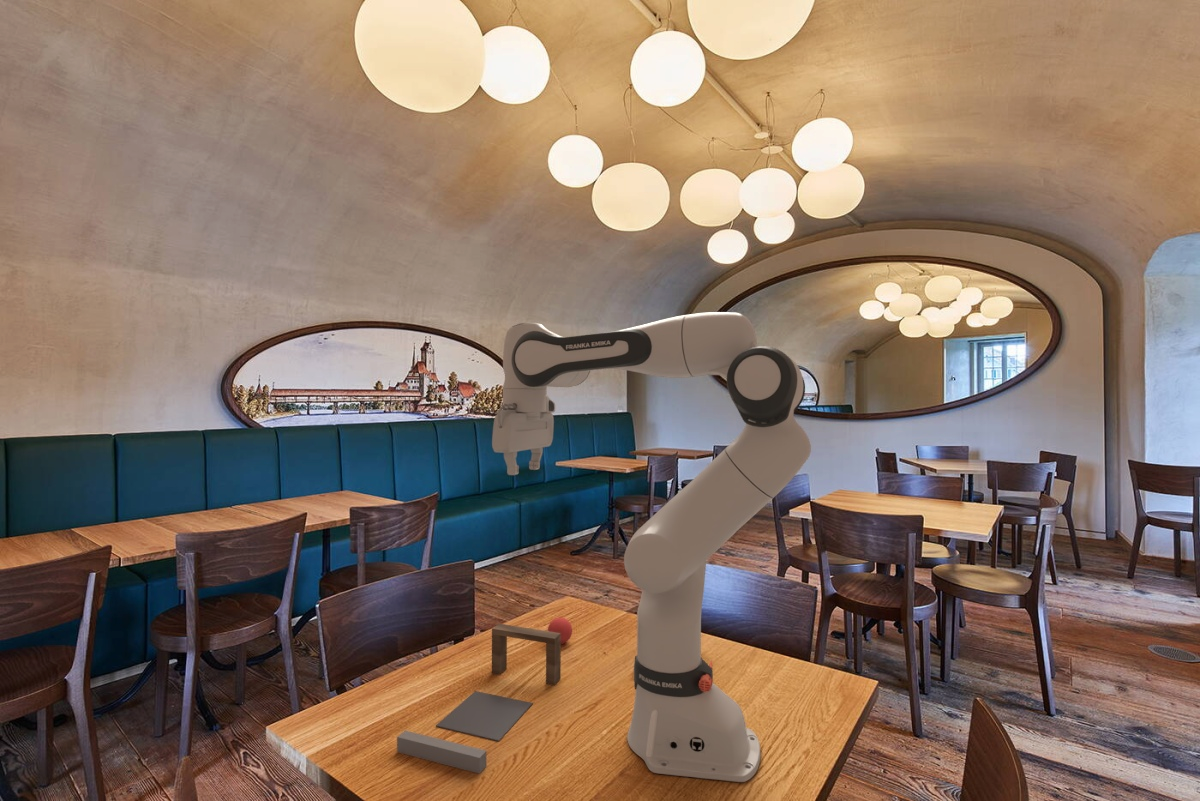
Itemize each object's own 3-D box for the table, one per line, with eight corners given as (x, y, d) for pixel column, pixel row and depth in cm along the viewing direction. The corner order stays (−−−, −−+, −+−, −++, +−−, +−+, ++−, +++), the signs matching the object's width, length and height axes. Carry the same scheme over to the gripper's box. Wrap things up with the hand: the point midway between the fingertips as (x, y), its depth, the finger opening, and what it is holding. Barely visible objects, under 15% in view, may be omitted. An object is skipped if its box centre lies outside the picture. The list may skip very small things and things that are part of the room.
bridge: (498, 667, 124) (499, 623, 124) (560, 678, 119) (560, 633, 119) (491, 673, 121) (491, 628, 121) (554, 685, 116) (554, 638, 116)
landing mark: (532, 703, 109) (532, 702, 109) (498, 741, 97) (498, 740, 97) (475, 691, 113) (475, 690, 113) (435, 726, 101) (435, 725, 101)
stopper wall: (486, 766, 90) (486, 750, 90) (479, 773, 88) (479, 757, 88) (404, 745, 95) (405, 730, 95) (397, 751, 94) (397, 736, 94)
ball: (575, 639, 139) (576, 615, 139) (566, 649, 133) (566, 624, 133) (553, 636, 141) (554, 612, 141) (543, 645, 135) (543, 621, 135)
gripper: (514, 403, 102) (513, 479, 102) (558, 404, 122) (558, 467, 122) (484, 403, 104) (483, 477, 104) (532, 403, 124) (532, 466, 124)
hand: (524, 472), depth 113 cm, fingers open, 8 cm apart
